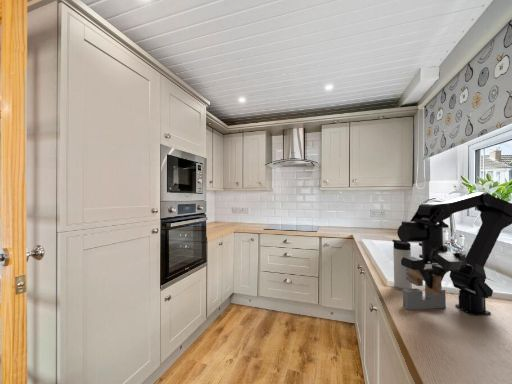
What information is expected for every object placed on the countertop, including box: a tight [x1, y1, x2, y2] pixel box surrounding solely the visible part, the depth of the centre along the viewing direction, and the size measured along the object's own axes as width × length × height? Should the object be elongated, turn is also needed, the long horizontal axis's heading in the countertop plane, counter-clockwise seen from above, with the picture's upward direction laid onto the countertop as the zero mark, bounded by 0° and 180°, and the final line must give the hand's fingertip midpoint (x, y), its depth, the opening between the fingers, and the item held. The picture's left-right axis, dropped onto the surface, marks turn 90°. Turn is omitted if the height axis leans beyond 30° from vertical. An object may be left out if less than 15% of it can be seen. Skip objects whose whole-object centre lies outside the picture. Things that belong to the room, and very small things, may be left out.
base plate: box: [402, 288, 447, 311], centre depth 81 cm, size 14×2×6 cm, turn 95°
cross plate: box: [408, 268, 443, 295], centre depth 81 cm, size 2×12×6 cm, turn 5°
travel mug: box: [391, 239, 413, 292], centre depth 97 cm, size 6×7×20 cm
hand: (433, 288), depth 77 cm, fingers closed on cross plate, 2 cm apart
